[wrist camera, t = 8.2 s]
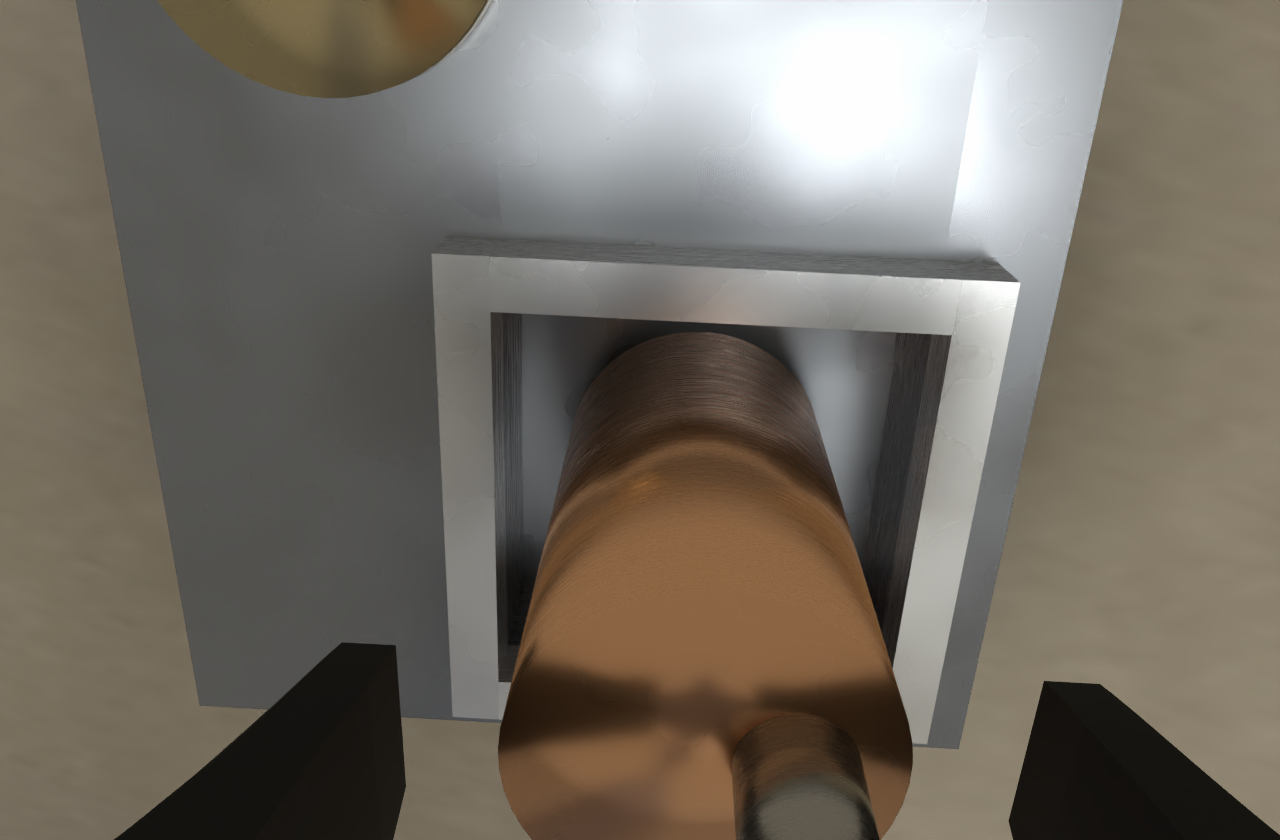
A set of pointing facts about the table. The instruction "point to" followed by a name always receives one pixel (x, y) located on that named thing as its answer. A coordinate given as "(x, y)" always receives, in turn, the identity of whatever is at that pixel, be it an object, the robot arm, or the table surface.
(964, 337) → the grey peg holder base
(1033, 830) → the robot arm
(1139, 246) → the table surface
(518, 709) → the copper cylinder
